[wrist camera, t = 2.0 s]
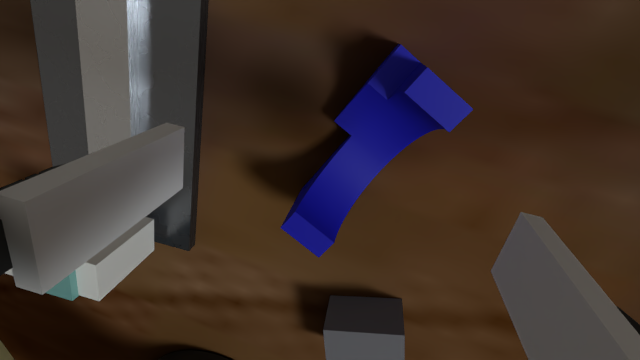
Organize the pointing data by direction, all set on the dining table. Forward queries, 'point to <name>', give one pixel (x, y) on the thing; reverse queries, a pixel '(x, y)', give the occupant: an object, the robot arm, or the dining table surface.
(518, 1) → the dining table surface
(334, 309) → the block
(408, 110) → the cable clip
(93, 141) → the rail
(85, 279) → the mounted modules
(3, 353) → the yellow and brown statuette
